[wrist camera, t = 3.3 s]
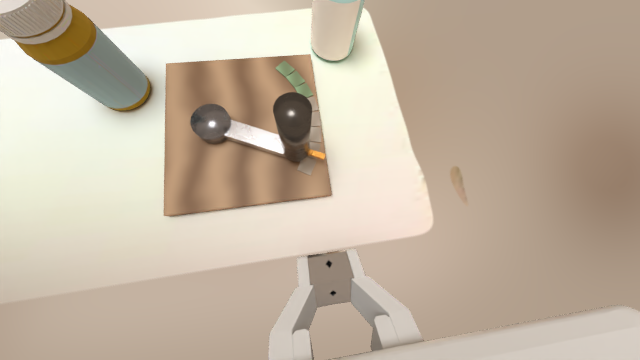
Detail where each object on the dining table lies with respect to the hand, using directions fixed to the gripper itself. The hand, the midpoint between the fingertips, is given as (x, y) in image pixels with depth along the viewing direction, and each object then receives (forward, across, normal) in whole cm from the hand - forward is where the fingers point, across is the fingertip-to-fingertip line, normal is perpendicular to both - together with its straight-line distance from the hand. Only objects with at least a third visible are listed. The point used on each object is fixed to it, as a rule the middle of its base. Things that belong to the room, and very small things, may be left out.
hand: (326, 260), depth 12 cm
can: (+37, -7, -8) cm, 38 cm away
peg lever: (+24, +6, +2) cm, 24 cm away
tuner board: (+27, +8, +2) cm, 28 cm away
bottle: (+32, +25, -4) cm, 41 cm away
